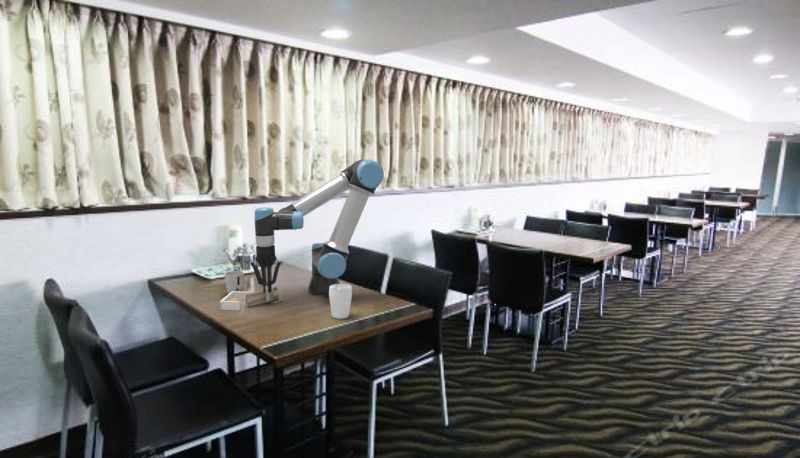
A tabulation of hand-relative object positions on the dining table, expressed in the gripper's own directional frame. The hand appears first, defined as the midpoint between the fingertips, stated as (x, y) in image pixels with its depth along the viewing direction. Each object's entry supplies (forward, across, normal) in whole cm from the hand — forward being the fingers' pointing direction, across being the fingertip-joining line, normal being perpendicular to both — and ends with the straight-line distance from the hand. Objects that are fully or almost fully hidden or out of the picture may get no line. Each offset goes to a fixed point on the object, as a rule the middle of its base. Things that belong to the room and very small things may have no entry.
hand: (267, 300), depth 194 cm
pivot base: (+2, -2, -5) cm, 6 cm away
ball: (0, +13, +4) cm, 14 cm away
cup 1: (+2, +18, -13) cm, 22 cm away
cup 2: (+3, -32, +13) cm, 35 cm away
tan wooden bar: (+1, +2, -1) cm, 3 cm away
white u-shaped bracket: (+2, +13, +1) cm, 13 cm away
